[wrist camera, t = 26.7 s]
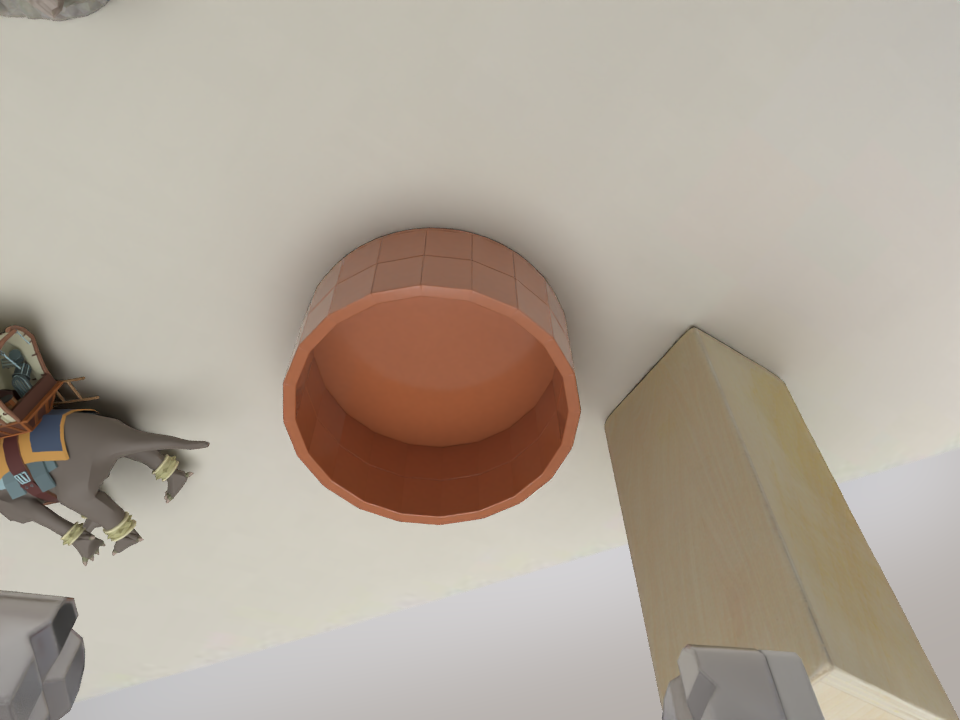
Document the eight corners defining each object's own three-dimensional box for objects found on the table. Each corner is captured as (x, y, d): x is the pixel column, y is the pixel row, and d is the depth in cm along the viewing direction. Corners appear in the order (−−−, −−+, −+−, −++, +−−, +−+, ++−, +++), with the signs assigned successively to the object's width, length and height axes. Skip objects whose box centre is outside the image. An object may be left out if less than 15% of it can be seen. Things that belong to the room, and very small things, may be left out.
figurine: (-35, 625, 50) (-299, 418, 42) (17, 547, 55) (-209, 349, 47) (238, 518, 44) (-10, 251, 36) (269, 441, 49) (58, 192, 41)
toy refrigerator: (698, 477, 51) (817, 836, 33) (599, 424, 49) (671, 779, 31) (794, 384, 47) (984, 733, 30) (691, 322, 45) (832, 659, 28)
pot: (590, 243, 43) (606, 303, 38) (544, 460, 50) (552, 534, 45) (305, 212, 42) (281, 270, 37) (302, 439, 49) (283, 512, 44)
